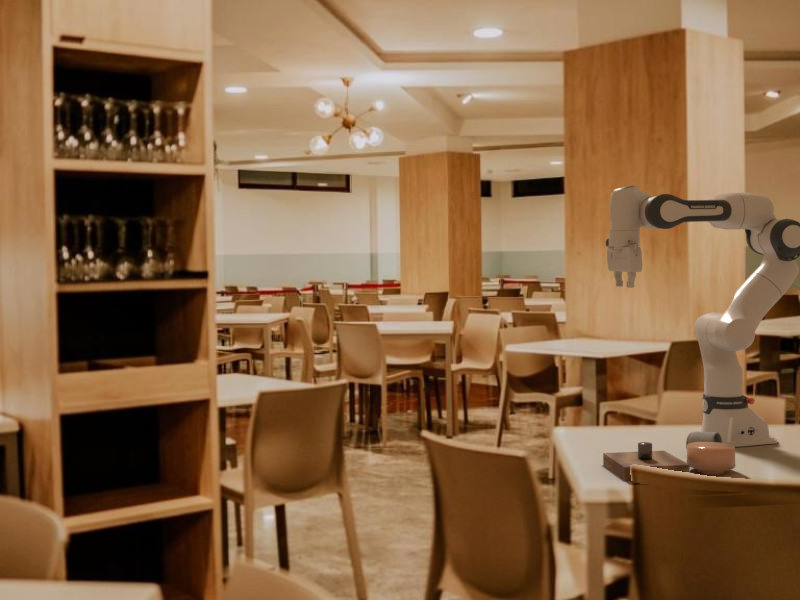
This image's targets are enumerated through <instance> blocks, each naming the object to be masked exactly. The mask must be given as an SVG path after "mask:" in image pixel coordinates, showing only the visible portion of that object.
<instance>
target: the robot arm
mask: <svg viewBox="0 0 800 600" xmlns="http://www.w3.org/2000/svg"><path fill="white" fill-rule="evenodd" d="M608 208H609V212H608V215H609V216H608V217H609V220H610V225H609V226H610V227H609V229H608V230H609V234H608V237H607V238H606V239H605V243H604V244H605V245H604V246H605V247H606V262H607V263H606V264H607V269H608V271H609V272H613V277H614V281H615V286H616V287H623V286H624V281H623V278H622V277H623V276H622V275H623V273H627V281H626V288H629V289H630V288H633V289H634V288H635V281H636V277H637V273H641V272H642V271H643V255H642V249H641V247H640V246H641V243H640V241H641V238H640V237H641V236H640V235H641V232H640V230H641V228H644V229H646V230H659V229H660V230H670V229H672V228H674V227H677V226H679V225H681V224H683V223H695V222H697V223H698V222H699V223H700V222H701V223H704V222H705V223H709V225H711V227H713V228H716V229H719V230H720V229H722V230H744V231H745V237H746V238H745V240H746V244H747V246H748V248H749V249H750V250H751V251H752V252H754V253H756V254H757V255H762V256H763V258H762V261H761V262H760V264H759V266H758V267H757V268H755V270H754V271H753V272H752V273H751V274H750V275H749V276H748V277H747V278H746V279H745V280H744V281H743V283H742V284H741V285H740V286H739V287H738V288H737V289H736V290H735V291H734V294H733V299H732V301H730V302H731V303H730V304H729V306H728V307H727V308H726V310H725V311H723V312H718V311H717V312H716V311H714V312H713V311H711V312H708V313H705V314H702V315H700V316H698V318H697V319H696V321H695V322H694V326H693V333H694V336H695V338H696V339H697V343H698V346H699V351H700V355H701V360H702V361H701V362H702V366H703V382H704V383H703V385H704V386H703V390H704V391H703V394H702V413H703V414H702V424H701V430H700V432H718V433H719V434H720V435H721V438H722V443H725V444H730V445H733V446H734V447H735V448H740V447H749V446H759V445H774V444H777V443H778V439H777V437H775V436H774V435H771V434H770V430H769V425H768V423H767V421H766V420H765V419H764V418H763V417H762V416H760V415H759V414H758V413H756V412H755V411H754V410H752V409H751V408H750V407H749V404H750V405H754V404H755V403H756V402H755V401H756V400H755V398H754V397H751V396H748V397H747V396H746V395H744V393H743V388H744V387H743V385H744V384H743V382H744V381H743V380H744V379H743V375H744V374H743V368H742V366H741V364H740V362H739V359H738V357H737V356H738V355H737V352H740V351H743V350H746V349H748V348H749V347H750V346H752V344H753V343H754V341H755V338H756V337H755V336H756V331H757V329H758V327H759V325H760V323H761V321H762V320H763V318H764V317H765V316H766V314H768V312H770V310H771V309H772V307H774V306H775V304H777V302H778V301H779V300H780V299H781V298H782V297H783V296H784V295H785V293H787V291H788V290H789V289H790V287H791V286H792V285H793V283H794V282H795V280H796V278H797V277H798V276H799V275H798V274H799V272H800V271H799V270H800V269H799V265H798V263H797V262H796V261H795V260H797V259H798V258H799V257H800V222H799V221H797V220H794V219H791V218H777V217H776V215H775V214H774V208H775V207H774V204H773V201H772V200H771V198H769V197H768V196H766V195H764V194H763V195H762V194H758V193H750V192H730V193H729V192H727V193H721V194H717V195H714V196H712V197H711V198H710V199H695V200H694V199H692V200H691V199H689V200H688V199H682V198H680V197H678V196H676V195H673V194H670V193H669V194H668V193H662V194H659V195H652V194H649V193H646V192H645V191H643V190H641V189H640V188H638V186H636V185H628V186H623V187H618V188H615V189H614V190H613V191H612V192H611V194H610V197H609V207H608Z"/></svg>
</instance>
